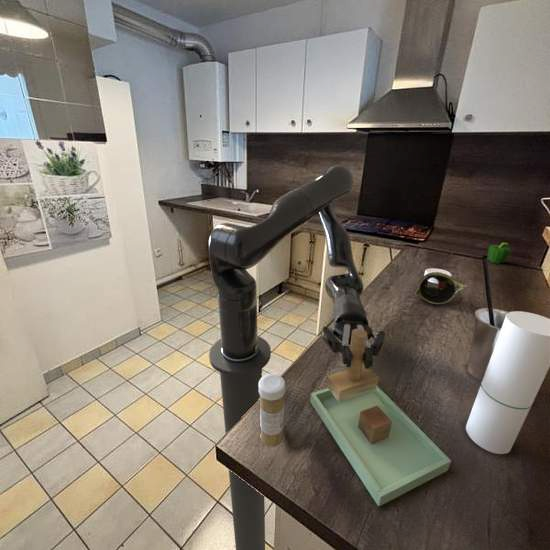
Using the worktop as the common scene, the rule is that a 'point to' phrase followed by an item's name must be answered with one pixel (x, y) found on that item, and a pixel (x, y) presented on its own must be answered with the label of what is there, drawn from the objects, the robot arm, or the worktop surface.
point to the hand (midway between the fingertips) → (358, 364)
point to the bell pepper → (498, 253)
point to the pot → (444, 282)
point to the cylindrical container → (510, 381)
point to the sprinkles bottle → (271, 409)
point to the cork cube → (374, 424)
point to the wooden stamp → (354, 372)
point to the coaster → (436, 271)
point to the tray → (381, 445)
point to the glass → (485, 331)
